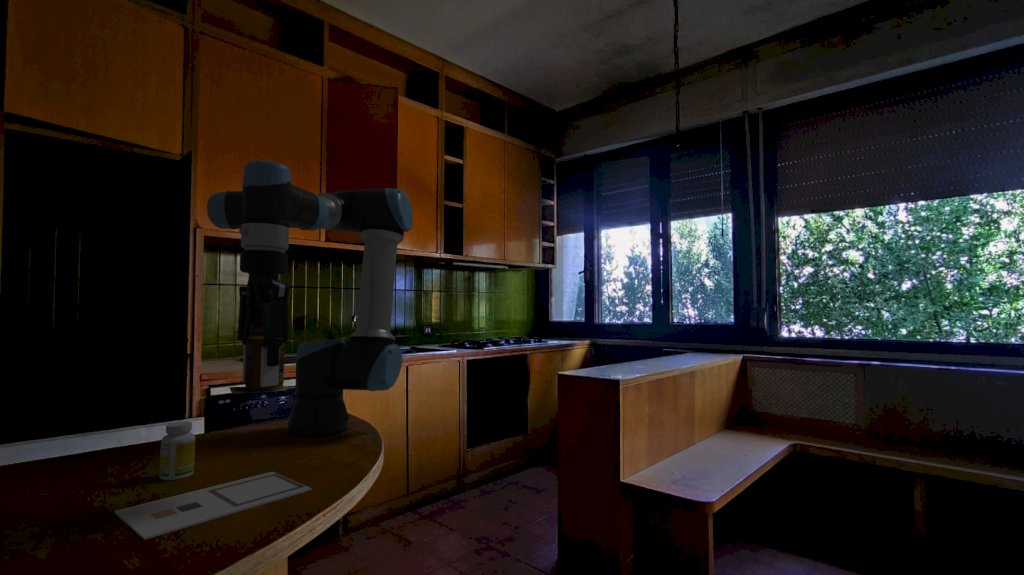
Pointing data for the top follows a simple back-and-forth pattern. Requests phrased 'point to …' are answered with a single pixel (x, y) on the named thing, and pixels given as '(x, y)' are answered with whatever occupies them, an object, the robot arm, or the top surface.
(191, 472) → the supplement bottle
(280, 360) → the condiment
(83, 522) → the top surface
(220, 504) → the sheet
